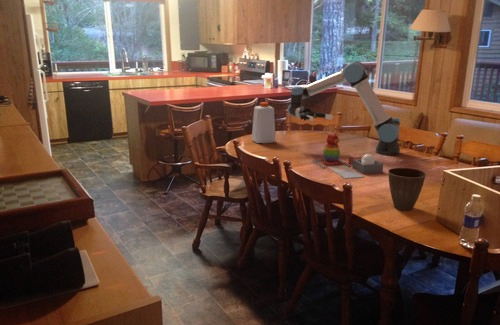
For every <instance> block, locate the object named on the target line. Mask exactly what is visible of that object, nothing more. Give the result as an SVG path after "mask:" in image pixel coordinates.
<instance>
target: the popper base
mask: <svg viewBox="0 0 500 325" xmlns="http://www.w3.org/2000/svg"><path fill="white" fill-rule="evenodd" d="M374 160H375V162H374V164H363V163H361V161H362V158H361V159H355V160H353V165H352V166H351V167H352V168H351V169H352V170H354V171H356V172H357V173H358V172H359V174H361V175H369V174H383V171H384V163H382V162H380V161H378V160H377V159H374Z"/></svg>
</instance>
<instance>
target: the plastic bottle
mask: <svg viewBox="0 0 500 325" xmlns="http://www.w3.org/2000/svg"><path fill="white" fill-rule="evenodd" d="M252 120H253V121H252V130H251V131H252V133H251V139H252V141H253V142H254V143H257V144H260V143H262V144H272V143H275V142H276V127H275V124H276V123H275V108H274V107H273V106H270V105H269V102H267V101H265V102H263V101H262V102H259V105H257V106H254V108H253V119H252Z"/></svg>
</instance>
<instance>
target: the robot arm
mask: <svg viewBox="0 0 500 325" xmlns="http://www.w3.org/2000/svg"><path fill="white" fill-rule="evenodd" d="M366 70H367V69H366V66H365V65H364V64H363V63H362V62H361V61H351V62H349V63H347V65H346V66H345V67H343V68H342V69H341V70H340V71H337V72H334V73H333V74H330V75H328V76H326V77H324V78H322V79H318V80H317V81H314V82H312V83H310V84H307V85H305V86H296V85H295V86H292V87H291V91H290V105H288V107H287V113H288V115H291V116H292V117H294V118H295V117H296V118H299V119H300V120H303V121H309V122H314V119H316V118H322V119H326V120H329V121H333V118H334V116H333V115H331V114H330V112H329V113H328V112H319V111H313V110H311V109H310V108H309V107H306V106H303V100H305V99H307V98H310V97H311V96H315V95H317V94H319V93H321V92H324V91H326V90H328V89H331V88H333V87H336V86H338V85H341V84H343V83H349V85H350V87H351V88H352V89H355V90H356V92H357V94H358V96H359V97H360V99H361V101H362V103H363V104H364V106H365V108H366V110H367V111H368V113H369V115H370V116H371V118H372V120H373V122H374V124H373V127H374V129H375V130H376V132H377V137H378V139H379V140H378V143H377V145H376V147H375V153H376V154H379V155H385V156H397V155H399V154H400V153H401V149H400V145H399V137H400V136H399V135H400V127H401V119H400V118H398V117H393V116H391V115H388V113H387V111H386V110H385V108H384V106H383V105H382V103H381V101H380V100H379V98H378V96H377V95H376V92H375V90H374V89H373V88H372V87H373V86H371V84H370V82H369V79H370V76H369V75H368V74H367V71H366Z"/></svg>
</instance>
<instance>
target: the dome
mask: <svg viewBox="0 0 500 325" xmlns="http://www.w3.org/2000/svg"><path fill="white" fill-rule="evenodd" d="M361 159H362V161H361V163H363V164H374V162H375V160H376V159H375V158H374V156H373V155H372V154H370V153H366V154H364V155H363V157H361Z"/></svg>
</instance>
